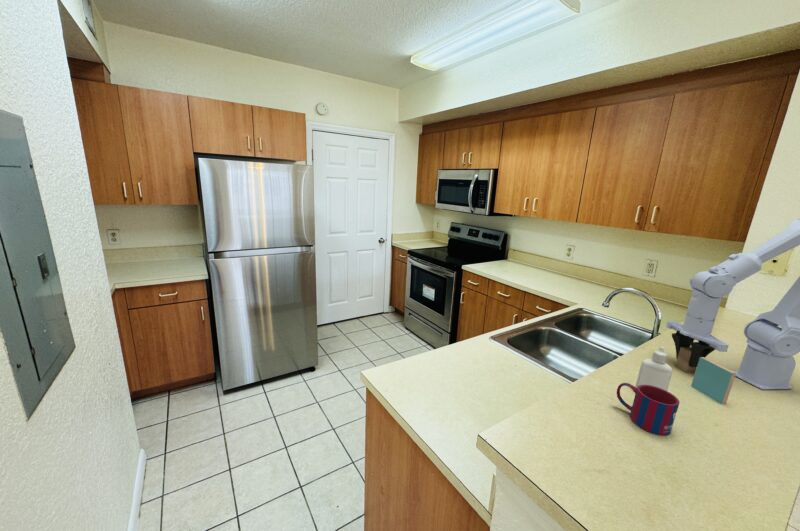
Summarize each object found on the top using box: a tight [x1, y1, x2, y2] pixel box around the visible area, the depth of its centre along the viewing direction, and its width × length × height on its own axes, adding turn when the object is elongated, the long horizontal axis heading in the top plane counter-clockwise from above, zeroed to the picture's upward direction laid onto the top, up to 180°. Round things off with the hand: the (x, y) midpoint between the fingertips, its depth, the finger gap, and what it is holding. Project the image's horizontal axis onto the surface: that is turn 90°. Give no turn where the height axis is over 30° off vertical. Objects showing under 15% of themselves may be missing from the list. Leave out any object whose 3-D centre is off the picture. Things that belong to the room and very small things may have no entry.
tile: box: [690, 357, 736, 405], centre depth 77 cm, size 1×7×8 cm, turn 7°
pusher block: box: [674, 346, 697, 373], centre depth 88 cm, size 3×3×6 cm
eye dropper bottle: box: [635, 346, 673, 391], centre depth 75 cm, size 4×6×12 cm
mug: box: [616, 382, 680, 436], centre depth 67 cm, size 7×10×7 cm
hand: (686, 362), depth 89 cm, fingers closed on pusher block, 3 cm apart
